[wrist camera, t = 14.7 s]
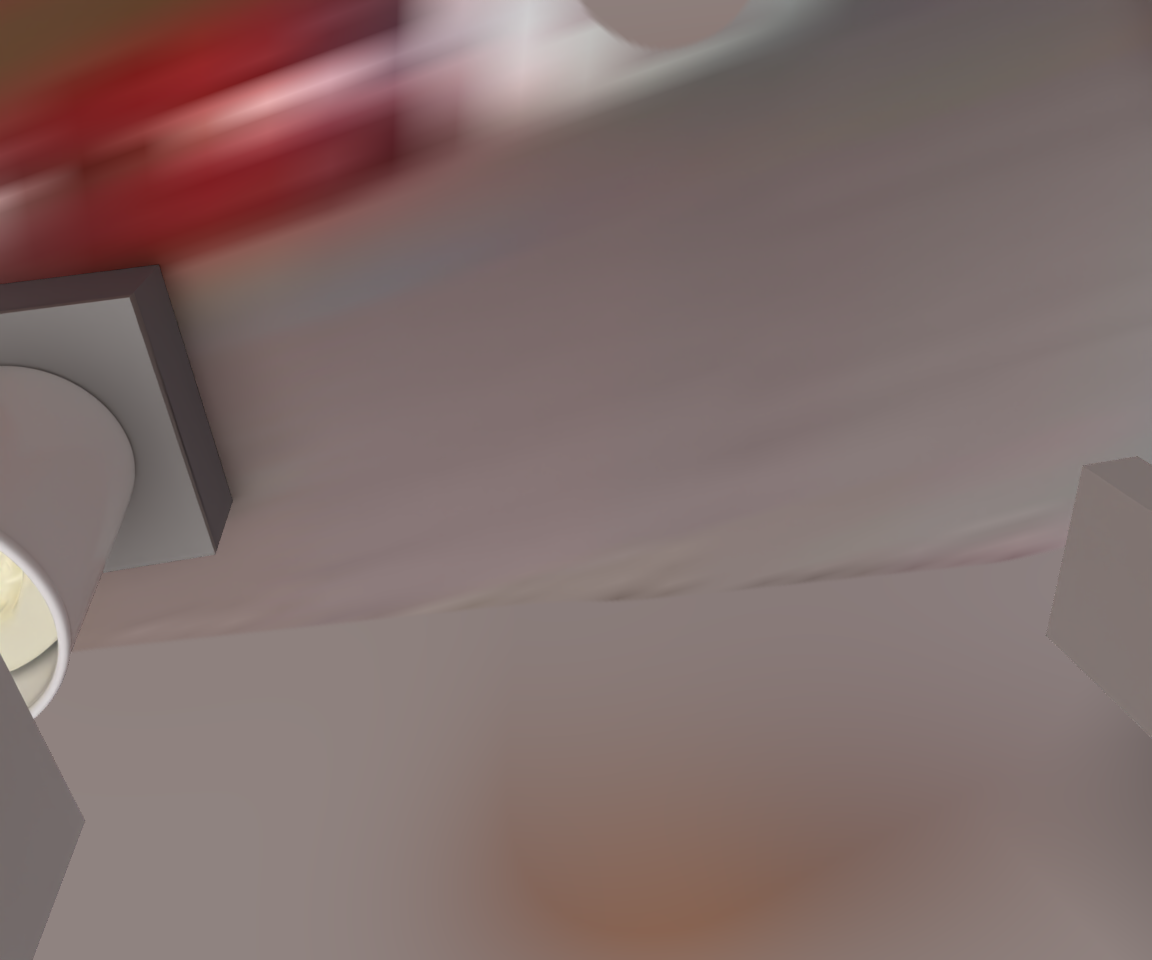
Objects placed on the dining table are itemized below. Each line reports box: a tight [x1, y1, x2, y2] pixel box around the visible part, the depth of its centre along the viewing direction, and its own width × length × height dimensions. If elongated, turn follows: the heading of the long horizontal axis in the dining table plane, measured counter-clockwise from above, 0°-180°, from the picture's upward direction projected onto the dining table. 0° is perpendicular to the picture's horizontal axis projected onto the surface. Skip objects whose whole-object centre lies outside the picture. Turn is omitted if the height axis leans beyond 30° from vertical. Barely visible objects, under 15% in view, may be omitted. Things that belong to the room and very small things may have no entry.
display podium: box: [0, 265, 232, 573], centre depth 39 cm, size 12×12×5 cm
